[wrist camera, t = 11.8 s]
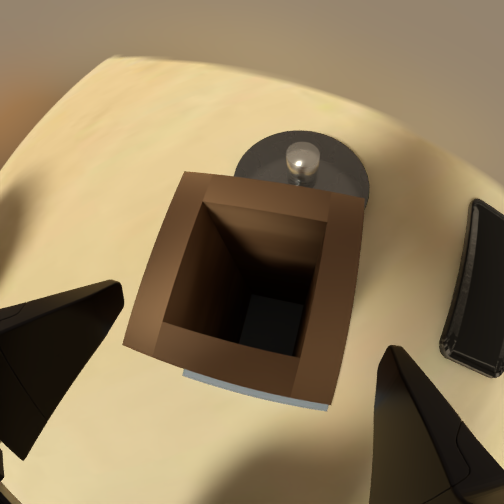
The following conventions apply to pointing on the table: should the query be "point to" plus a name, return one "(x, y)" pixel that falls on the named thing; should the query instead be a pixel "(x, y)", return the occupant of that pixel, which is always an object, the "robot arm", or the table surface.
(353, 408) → the table surface
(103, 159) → the table surface
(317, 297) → the walnut sleeve
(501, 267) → the phone
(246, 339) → the pad
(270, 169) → the peg stand
